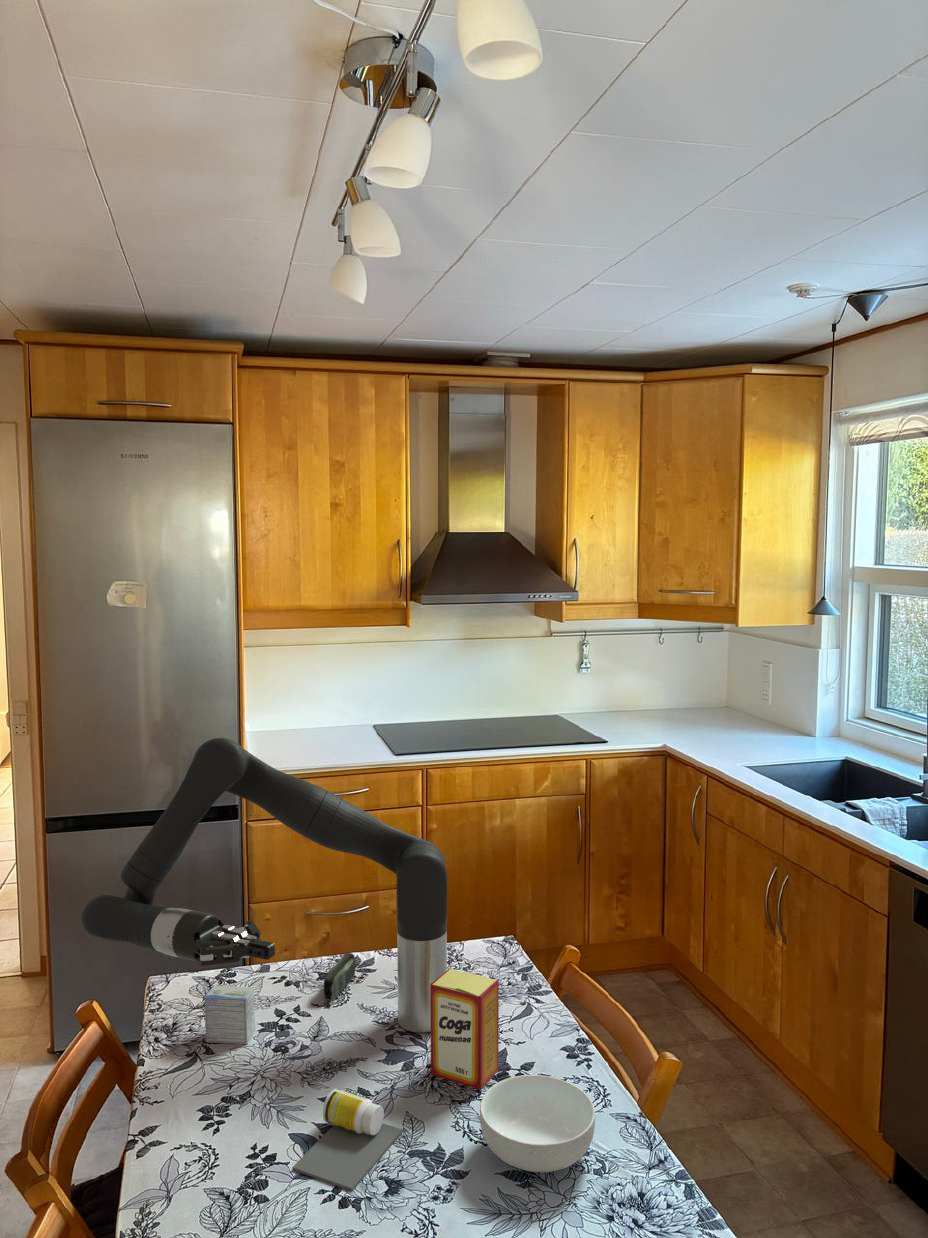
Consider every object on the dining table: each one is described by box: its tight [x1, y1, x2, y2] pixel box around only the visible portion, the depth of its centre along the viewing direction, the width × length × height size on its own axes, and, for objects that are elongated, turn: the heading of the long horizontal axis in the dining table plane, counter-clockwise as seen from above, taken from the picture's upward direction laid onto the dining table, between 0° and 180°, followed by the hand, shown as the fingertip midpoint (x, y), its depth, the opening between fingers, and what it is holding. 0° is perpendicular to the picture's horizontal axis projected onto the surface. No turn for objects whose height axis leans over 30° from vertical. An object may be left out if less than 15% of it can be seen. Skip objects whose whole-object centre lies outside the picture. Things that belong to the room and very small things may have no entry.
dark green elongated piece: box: [323, 952, 356, 1008], centre depth 179 cm, size 5×3×15 cm
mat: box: [291, 1122, 404, 1192], centre depth 130 cm, size 10×14×1 cm
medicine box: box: [204, 985, 256, 1045], centre depth 161 cm, size 8×4×9 cm, turn 84°
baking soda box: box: [430, 967, 500, 1091], centre depth 149 cm, size 10×6×16 cm
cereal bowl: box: [479, 1074, 596, 1173], centre depth 129 cm, size 17×17×7 cm
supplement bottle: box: [322, 1088, 385, 1135], centre depth 134 cm, size 5×5×8 cm
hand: (272, 951), depth 140 cm, fingers closed
